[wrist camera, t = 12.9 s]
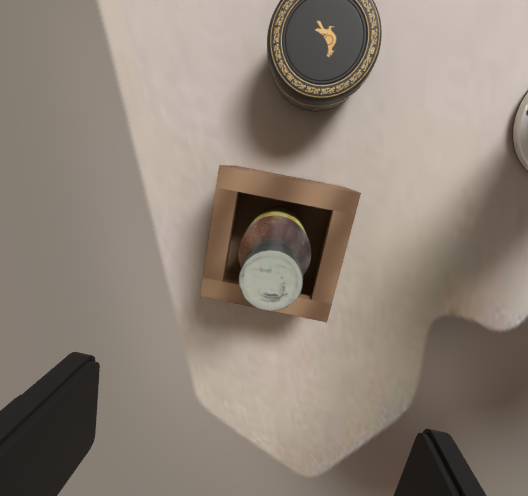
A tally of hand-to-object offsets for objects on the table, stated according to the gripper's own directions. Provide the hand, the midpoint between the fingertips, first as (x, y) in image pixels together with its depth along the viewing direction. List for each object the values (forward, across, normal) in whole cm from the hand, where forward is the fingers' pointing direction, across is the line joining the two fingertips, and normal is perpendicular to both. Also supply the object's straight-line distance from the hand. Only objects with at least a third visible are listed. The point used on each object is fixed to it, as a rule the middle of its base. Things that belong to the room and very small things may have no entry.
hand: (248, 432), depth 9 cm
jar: (+32, 0, -18) cm, 37 cm away
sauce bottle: (+31, 0, 0) cm, 31 cm away
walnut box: (+31, 0, 0) cm, 31 cm away
